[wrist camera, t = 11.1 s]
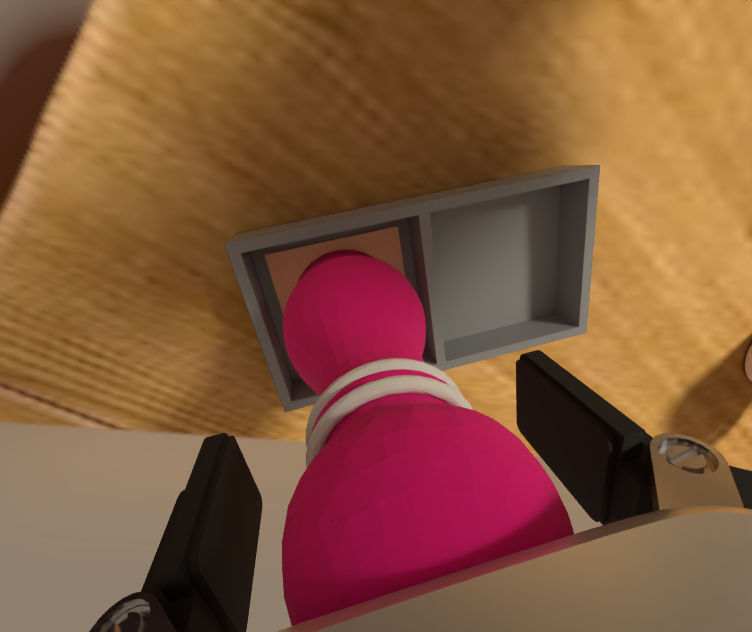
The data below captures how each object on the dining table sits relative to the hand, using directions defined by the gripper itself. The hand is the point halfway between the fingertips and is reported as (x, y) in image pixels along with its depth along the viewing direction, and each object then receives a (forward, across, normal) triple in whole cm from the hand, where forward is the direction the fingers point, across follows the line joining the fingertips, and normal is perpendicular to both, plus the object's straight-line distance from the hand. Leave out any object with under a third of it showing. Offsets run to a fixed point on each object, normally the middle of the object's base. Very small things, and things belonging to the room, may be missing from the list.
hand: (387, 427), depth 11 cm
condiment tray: (+13, -5, 0) cm, 14 cm away
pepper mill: (+12, 0, 0) cm, 12 cm away
